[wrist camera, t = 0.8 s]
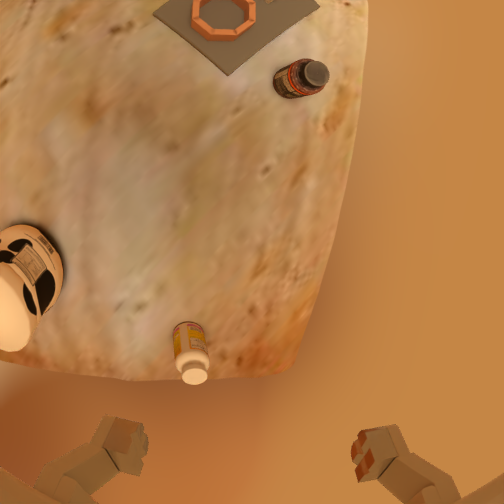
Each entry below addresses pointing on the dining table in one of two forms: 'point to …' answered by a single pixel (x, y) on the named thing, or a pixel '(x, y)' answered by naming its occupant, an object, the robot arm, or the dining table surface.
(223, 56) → the socket board
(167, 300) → the dining table surface
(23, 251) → the milk container
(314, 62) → the supplement bottle
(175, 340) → the supplement bottle
